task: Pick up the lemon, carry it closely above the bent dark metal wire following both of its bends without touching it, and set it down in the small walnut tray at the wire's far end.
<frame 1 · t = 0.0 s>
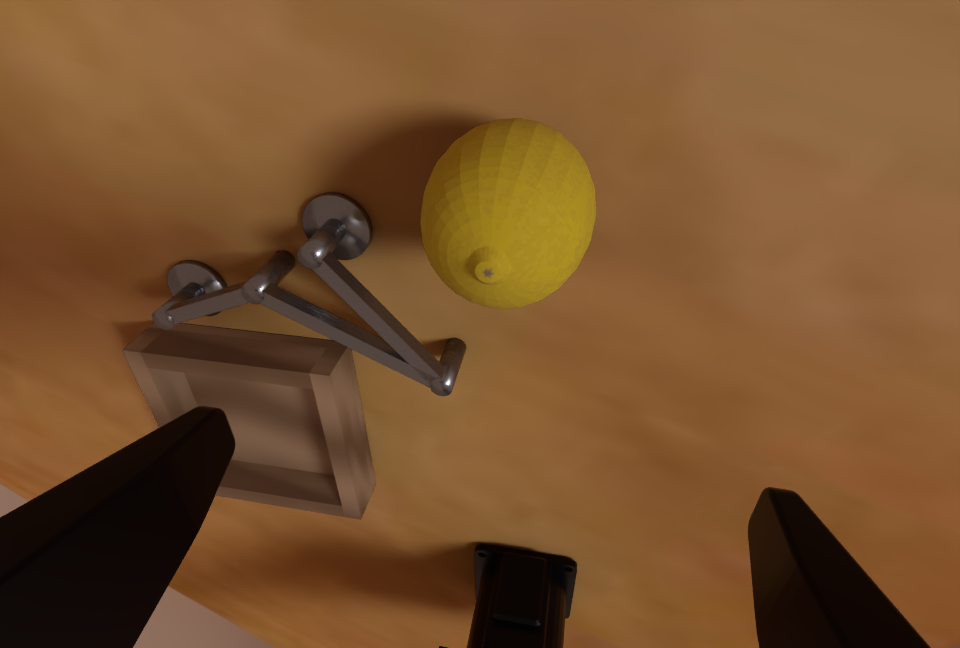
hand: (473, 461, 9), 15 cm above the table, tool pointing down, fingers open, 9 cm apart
lemon: (525, 166, 22), on the table
tray: (273, 408, 32), on the table
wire: (329, 282, 26), on the table
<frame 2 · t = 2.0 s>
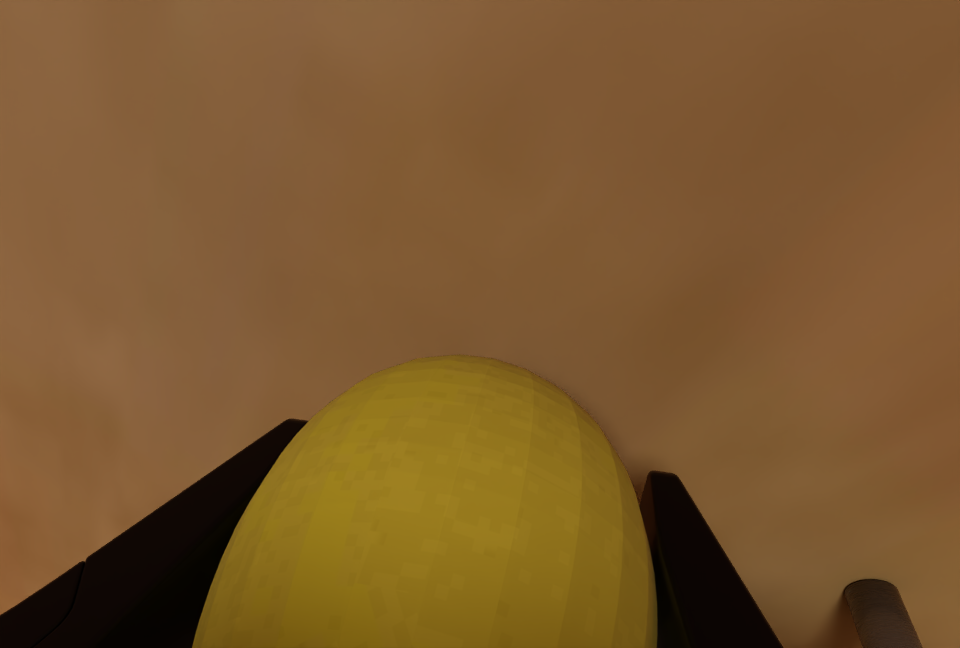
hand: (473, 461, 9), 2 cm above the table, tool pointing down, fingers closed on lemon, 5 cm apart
lemon: (494, 380, 11), on the table, touching gripper
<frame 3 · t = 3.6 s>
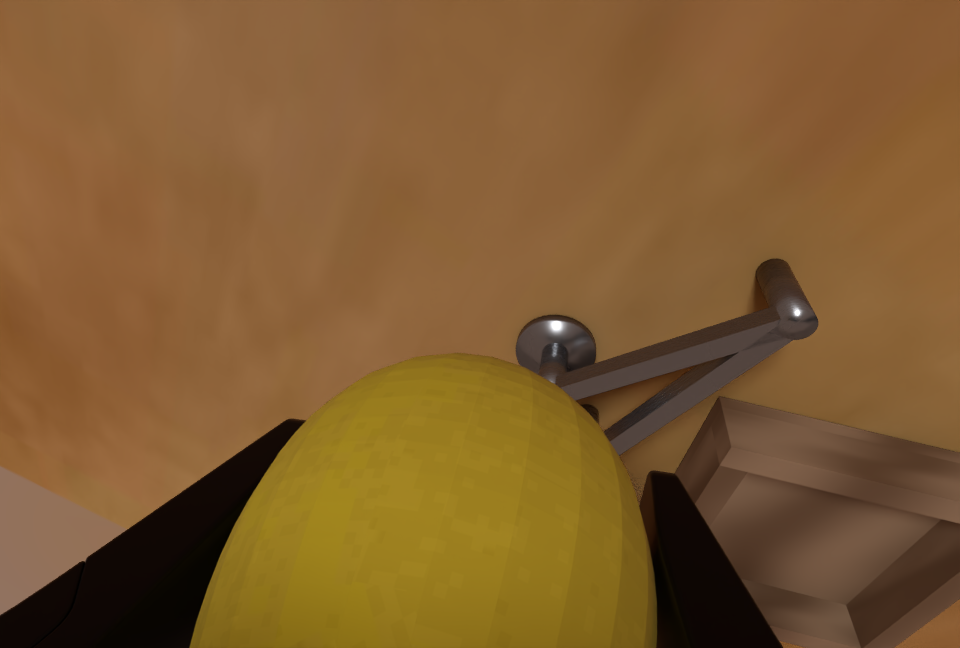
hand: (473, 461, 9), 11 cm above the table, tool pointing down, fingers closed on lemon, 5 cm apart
lemon: (493, 379, 11), point 9 cm above the table, touching gripper
tray: (793, 515, 24), on the table
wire: (625, 384, 22), on the table
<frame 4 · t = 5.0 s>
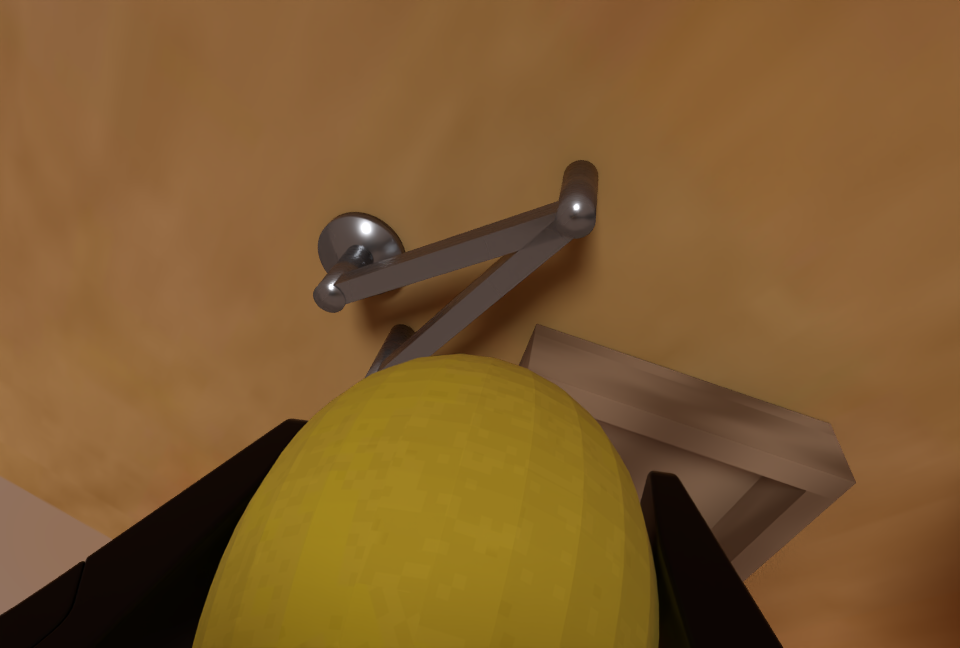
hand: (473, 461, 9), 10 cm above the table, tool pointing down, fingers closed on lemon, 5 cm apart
lemon: (494, 380, 11), point 8 cm above the table, touching gripper
tray: (619, 467, 23), on the table
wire: (439, 302, 20), on the table
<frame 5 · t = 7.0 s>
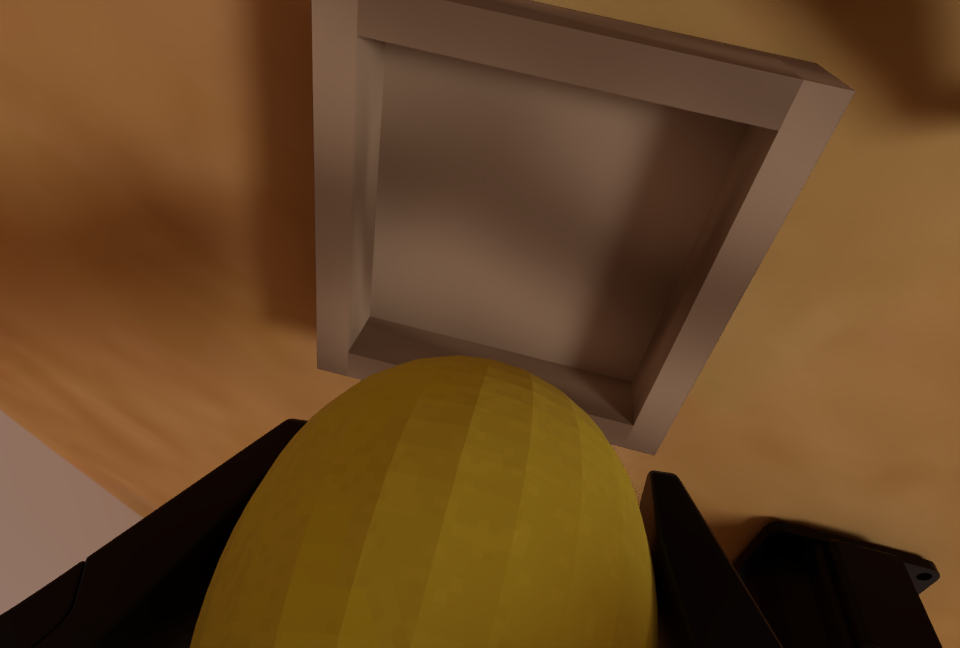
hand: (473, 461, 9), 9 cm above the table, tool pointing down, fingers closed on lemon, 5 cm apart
lemon: (493, 381, 11), point 7 cm above the table, touching gripper
tray: (530, 220, 16), on the table
when the fingers open (4 cm above the table, at t = 8.3 s): lemon drops 1 cm, resting on tray.
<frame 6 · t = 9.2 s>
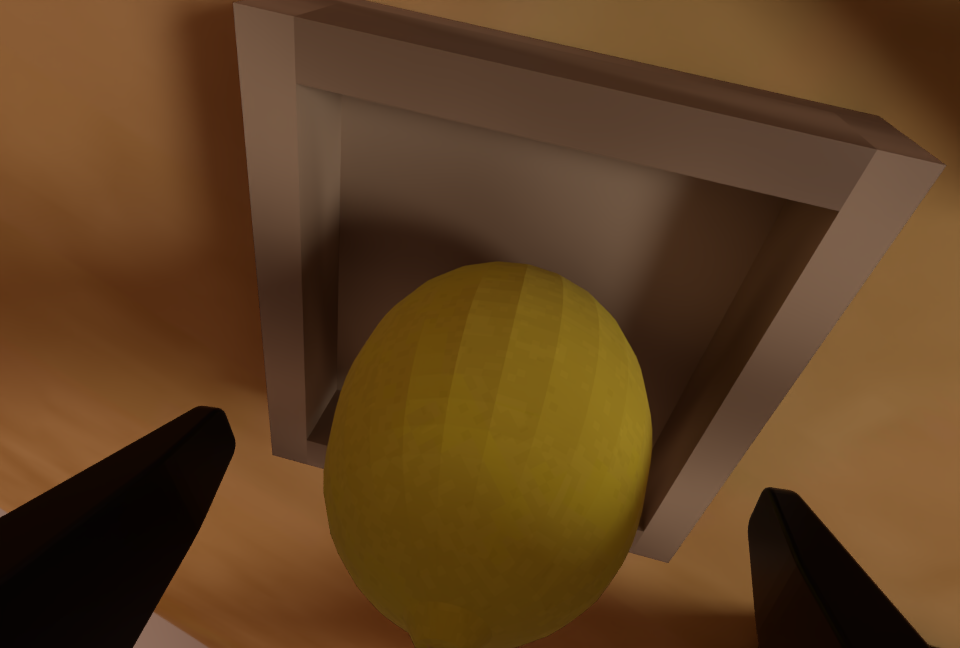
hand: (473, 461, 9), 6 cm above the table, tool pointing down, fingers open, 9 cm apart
lemon: (521, 301, 14), resting on tray
tray: (522, 289, 14), on the table
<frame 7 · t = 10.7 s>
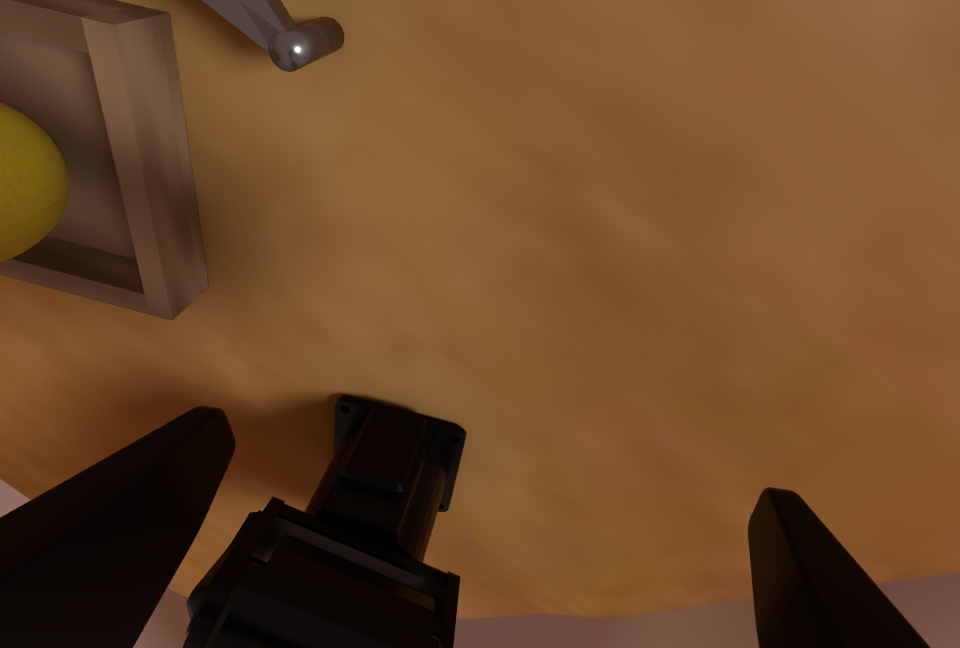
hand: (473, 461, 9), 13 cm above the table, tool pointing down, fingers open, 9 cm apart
lemon: (53, 143, 22), resting on tray
tray: (60, 137, 22), on the table
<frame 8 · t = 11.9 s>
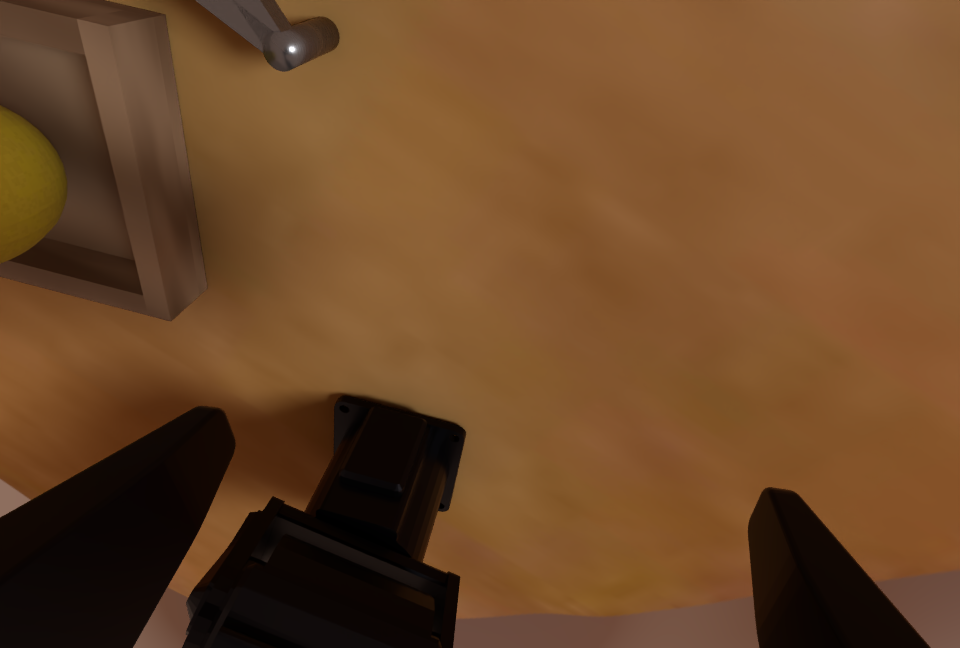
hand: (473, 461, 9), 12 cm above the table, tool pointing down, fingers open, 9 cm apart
lemon: (51, 145, 22), resting on tray
tray: (58, 139, 22), on the table
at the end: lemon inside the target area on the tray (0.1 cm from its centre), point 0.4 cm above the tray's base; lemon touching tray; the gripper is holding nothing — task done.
